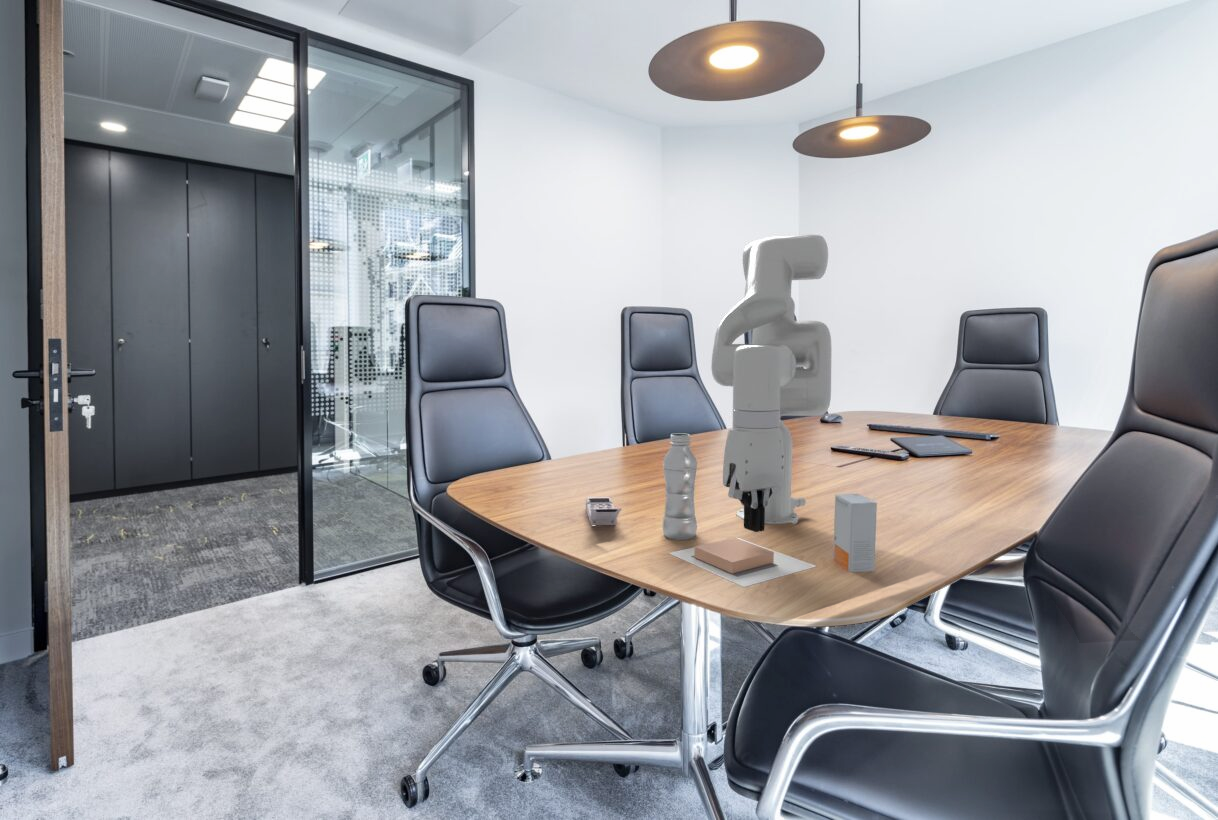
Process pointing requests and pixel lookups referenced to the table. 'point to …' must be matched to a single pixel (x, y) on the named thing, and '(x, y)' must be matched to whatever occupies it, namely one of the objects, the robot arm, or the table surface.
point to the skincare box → (855, 532)
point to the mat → (751, 576)
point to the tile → (733, 555)
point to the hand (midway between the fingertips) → (753, 529)
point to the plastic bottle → (679, 489)
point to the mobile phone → (601, 511)
